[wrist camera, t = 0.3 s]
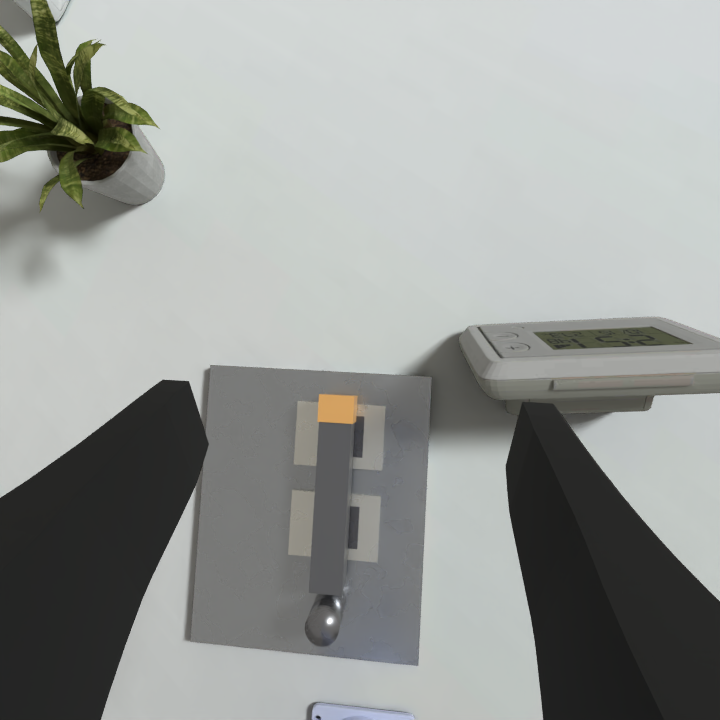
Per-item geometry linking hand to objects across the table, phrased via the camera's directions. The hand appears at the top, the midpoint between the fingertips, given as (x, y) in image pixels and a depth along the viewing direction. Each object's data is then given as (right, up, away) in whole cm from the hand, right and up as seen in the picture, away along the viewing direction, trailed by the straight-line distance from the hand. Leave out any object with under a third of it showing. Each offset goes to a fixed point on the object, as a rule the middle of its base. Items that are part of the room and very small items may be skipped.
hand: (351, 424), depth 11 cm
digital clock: (+16, +2, +27) cm, 32 cm away
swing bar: (-2, -8, +26) cm, 28 cm away
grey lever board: (-4, -10, +28) cm, 30 cm away
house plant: (-20, +16, +31) cm, 41 cm away
